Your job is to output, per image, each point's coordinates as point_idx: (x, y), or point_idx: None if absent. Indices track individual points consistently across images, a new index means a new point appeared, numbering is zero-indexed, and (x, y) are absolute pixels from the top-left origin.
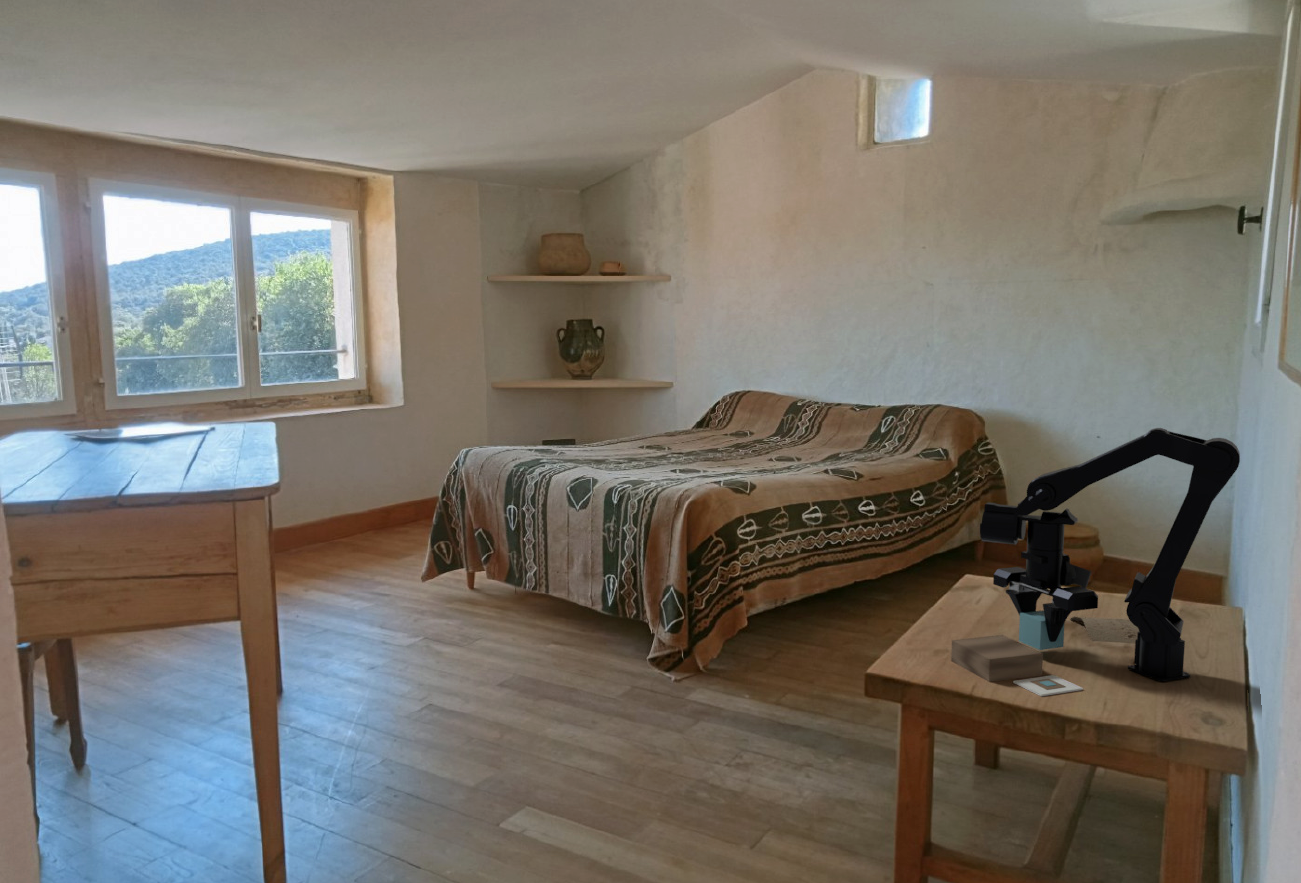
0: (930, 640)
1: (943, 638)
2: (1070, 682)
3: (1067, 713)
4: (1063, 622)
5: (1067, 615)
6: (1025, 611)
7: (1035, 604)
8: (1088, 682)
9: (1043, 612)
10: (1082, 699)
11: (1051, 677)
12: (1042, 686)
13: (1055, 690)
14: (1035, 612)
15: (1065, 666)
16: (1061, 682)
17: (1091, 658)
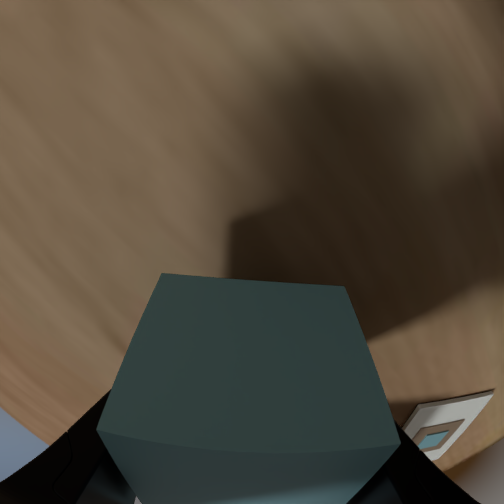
0: (58, 435)
1: (41, 411)
2: (466, 400)
3: (484, 445)
4: (424, 463)
5: (463, 499)
6: (127, 499)
7: (81, 502)
8: (494, 353)
9: (163, 463)
10: (496, 410)
11: (421, 419)
12: (427, 450)
13: (452, 438)
14: (150, 484)
15: (402, 327)
16: (450, 415)
17: (414, 139)
